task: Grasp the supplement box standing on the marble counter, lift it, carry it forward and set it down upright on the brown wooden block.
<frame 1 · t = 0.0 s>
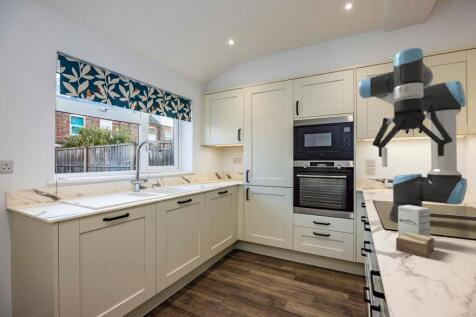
hand: (408, 167, 73), 28 cm above the counter, fingers open, 13 cm apart
supplement box: (413, 241, 86), on the counter
brown wooden block: (415, 250, 77), on the counter
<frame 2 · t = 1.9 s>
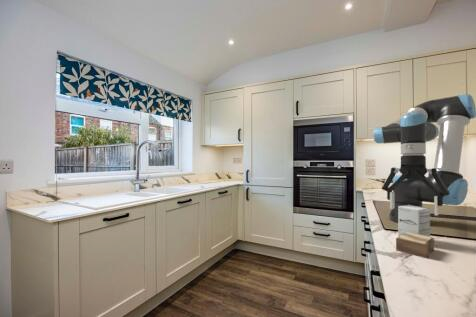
hand: (413, 211, 86), 11 cm above the counter, fingers open, 13 cm apart
nothing on the counter moved.
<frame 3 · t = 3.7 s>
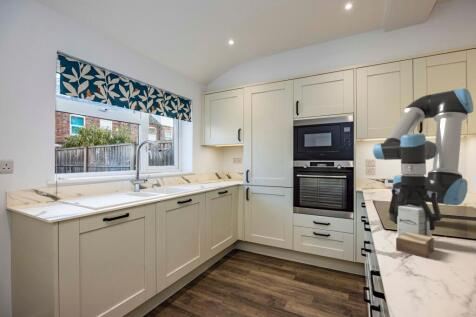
hand: (413, 235, 86), 2 cm above the counter, fingers closed on supplement box, 8 cm apart
supplement box: (413, 241, 86), on the counter, touching gripper
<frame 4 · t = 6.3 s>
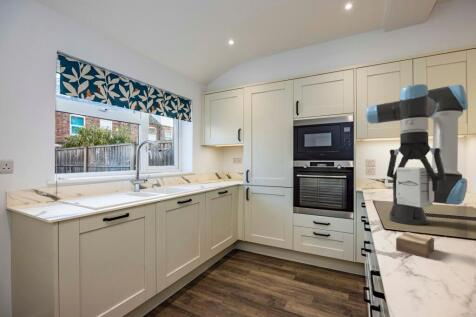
hand: (414, 199, 77), 17 cm above the counter, fingers closed on supplement box, 8 cm apart
supplement box: (414, 205, 77), point 15 cm above the counter, touching gripper
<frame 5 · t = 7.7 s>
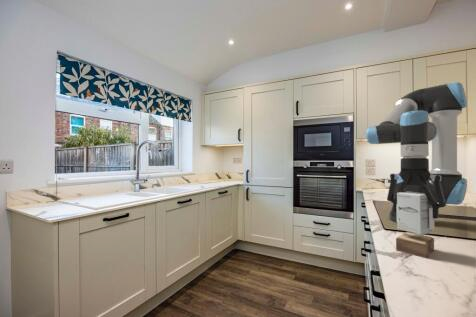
hand: (414, 225, 77), 8 cm above the counter, fingers closed on supplement box, 8 cm apart
supplement box: (414, 231, 77), point 6 cm above the counter, touching gripper
when the fingers open (7 cm above the counter, at t = 9.0 s): supplement box stays where it is, resting on brown wooden block.
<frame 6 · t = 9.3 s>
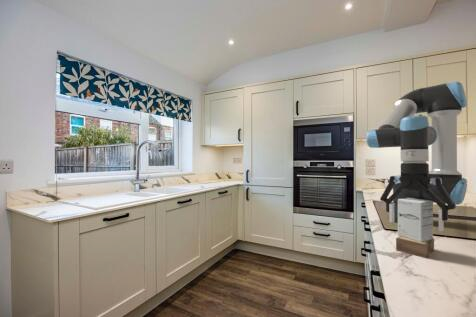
hand: (414, 225, 77), 8 cm above the counter, fingers open, 13 cm apart
supplement box: (415, 238, 77), point 4 cm above the counter, touching brown wooden block
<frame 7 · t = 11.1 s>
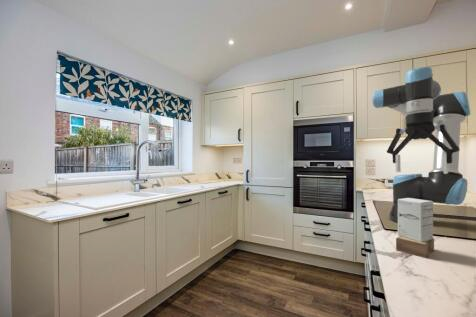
hand: (420, 172, 82), 26 cm above the counter, fingers open, 13 cm apart
nothing on the counter moved.
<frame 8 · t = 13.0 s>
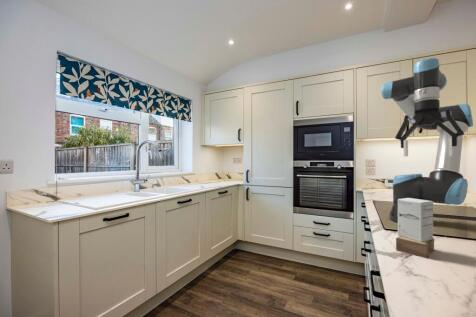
hand: (427, 156, 88), 32 cm above the counter, fingers open, 13 cm apart
nothing on the counter moved.
at the end: supplement box inside the target area on the brown wooden block (0.0 cm from its centre), point 4.1 cm above the brown wooden block's base; supplement box tilted 0°; the gripper is holding nothing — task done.
